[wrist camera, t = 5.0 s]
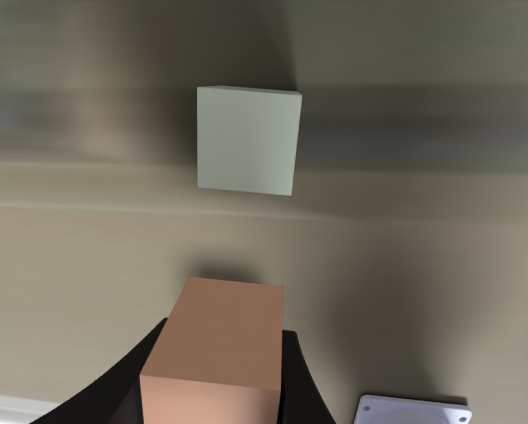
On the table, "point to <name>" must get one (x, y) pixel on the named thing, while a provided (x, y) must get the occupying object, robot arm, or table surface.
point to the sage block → (247, 138)
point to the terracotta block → (217, 356)
